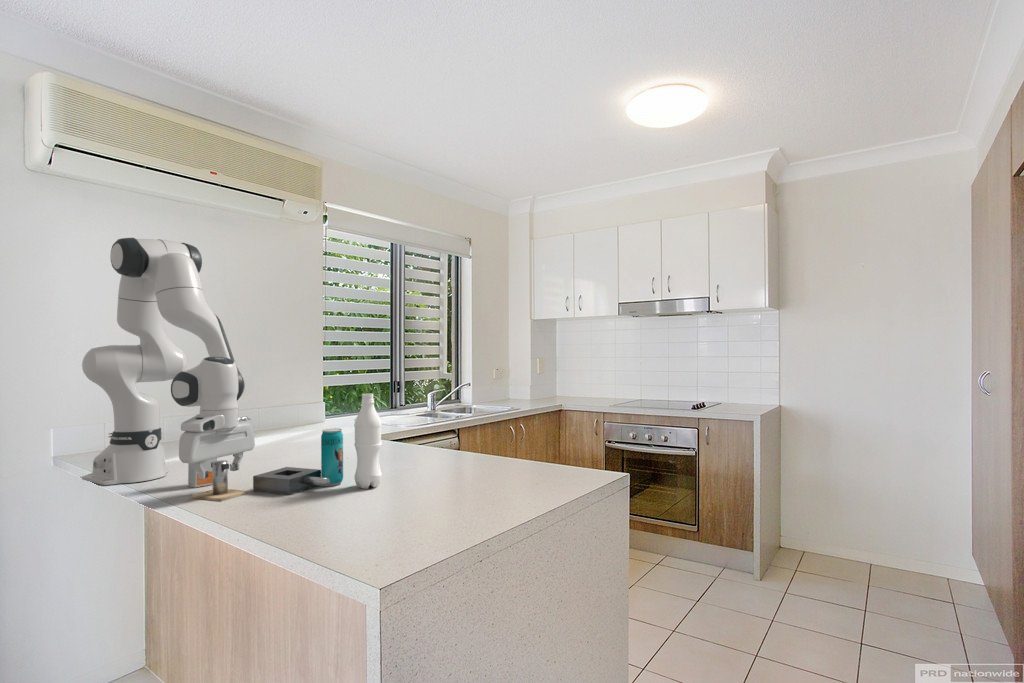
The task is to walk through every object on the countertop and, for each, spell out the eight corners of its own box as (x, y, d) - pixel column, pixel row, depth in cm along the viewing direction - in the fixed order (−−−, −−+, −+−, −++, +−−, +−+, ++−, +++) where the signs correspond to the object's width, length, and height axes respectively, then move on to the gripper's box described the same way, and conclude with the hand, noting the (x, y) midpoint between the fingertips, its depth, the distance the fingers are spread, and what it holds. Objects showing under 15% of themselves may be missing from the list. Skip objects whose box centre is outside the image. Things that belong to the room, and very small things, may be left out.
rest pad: (191, 497, 140) (191, 495, 140) (218, 490, 147) (218, 487, 147) (221, 501, 136) (221, 498, 136) (247, 493, 144) (247, 490, 144)
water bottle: (385, 483, 153) (384, 392, 153) (376, 490, 146) (376, 394, 146) (360, 483, 153) (359, 392, 154) (350, 489, 146) (349, 395, 147)
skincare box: (194, 488, 149) (194, 443, 150) (187, 486, 152) (187, 442, 152) (217, 483, 154) (217, 440, 154) (210, 481, 157) (210, 439, 157)
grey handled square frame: (253, 491, 145) (253, 476, 146) (286, 481, 157) (286, 466, 157) (311, 497, 139) (311, 481, 139) (342, 486, 150) (342, 471, 150)
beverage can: (336, 487, 149) (336, 431, 149) (317, 486, 150) (316, 431, 150) (347, 482, 155) (346, 428, 155) (328, 481, 156) (328, 428, 156)
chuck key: (207, 493, 142) (206, 461, 142) (220, 490, 145) (219, 459, 145) (220, 496, 138) (220, 463, 139) (233, 493, 141) (233, 461, 142)
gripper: (242, 415, 153) (242, 465, 153) (174, 424, 134) (174, 482, 133) (260, 416, 151) (260, 466, 150) (193, 425, 131) (193, 484, 131)
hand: (219, 474), depth 142 cm, fingers open, 8 cm apart
